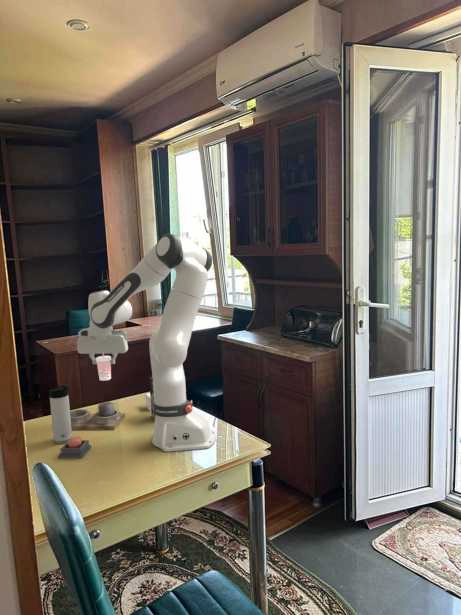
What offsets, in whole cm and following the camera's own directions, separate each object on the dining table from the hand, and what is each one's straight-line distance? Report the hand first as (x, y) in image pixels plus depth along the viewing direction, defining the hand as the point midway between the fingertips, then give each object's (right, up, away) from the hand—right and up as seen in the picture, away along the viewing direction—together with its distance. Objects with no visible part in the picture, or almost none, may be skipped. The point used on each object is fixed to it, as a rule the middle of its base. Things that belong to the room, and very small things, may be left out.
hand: (104, 363), depth 191 cm
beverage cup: (0, -7, +1) cm, 7 cm away
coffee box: (+25, -21, -4) cm, 33 cm away
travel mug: (-8, -25, -23) cm, 35 cm away
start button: (-1, -24, -34) cm, 41 cm away
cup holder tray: (-2, -22, -8) cm, 24 cm away
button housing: (0, -26, -34) cm, 42 cm away
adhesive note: (+20, -20, +8) cm, 29 cm away
